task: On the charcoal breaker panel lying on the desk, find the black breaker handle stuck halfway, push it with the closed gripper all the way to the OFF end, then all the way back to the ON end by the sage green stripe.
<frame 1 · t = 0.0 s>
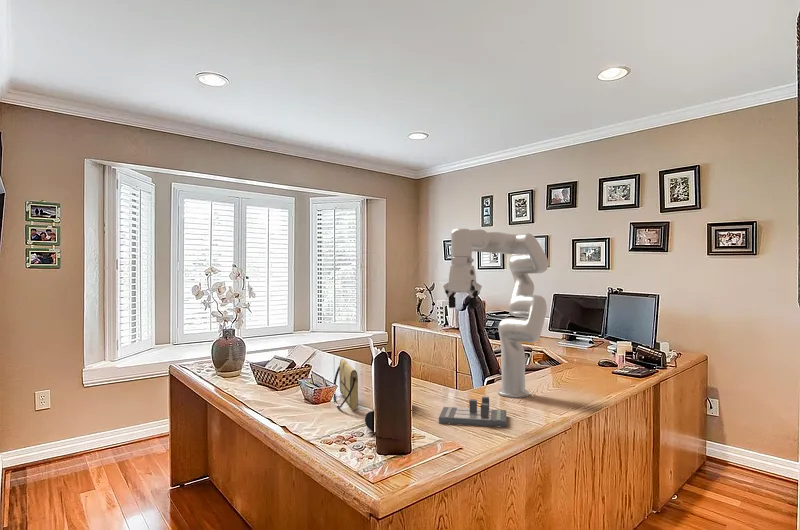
hand: (462, 308, 173), 37 cm above the table, tool pointing down, fingers open, 9 cm apart
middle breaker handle: (473, 406, 159), point 5 cm above the table, slide at 0.0 cm
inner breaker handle: (485, 403, 163), point 5 cm above the table, slide at 4.0 cm
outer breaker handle: (484, 410, 154), point 5 cm above the table, slide at 4.0 cm
breaker panel: (473, 419, 159), on the table
end cap: (382, 429, 150), on the table
clutch purse: (343, 403, 183), on the table
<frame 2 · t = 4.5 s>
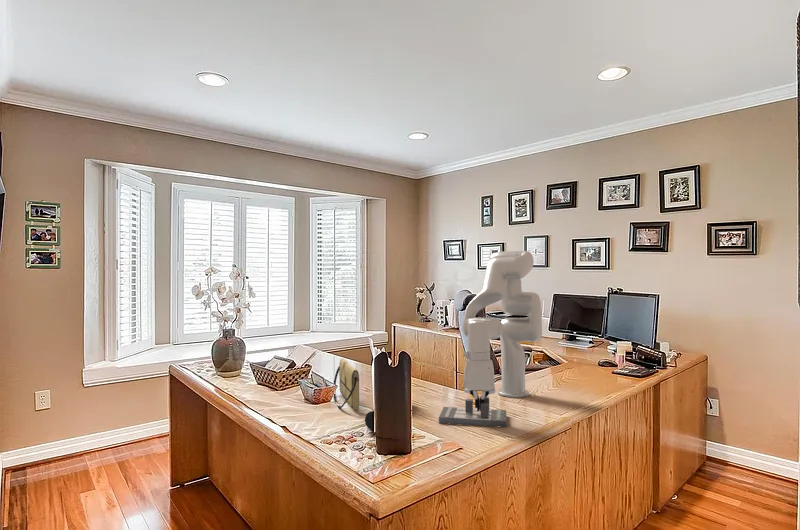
hand: (479, 410, 159), 3 cm above the table, tool pointing down, fingers closed
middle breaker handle: (469, 405, 160), point 5 cm above the table, slide at -1.4 cm, touching gripper
everything else where it was.
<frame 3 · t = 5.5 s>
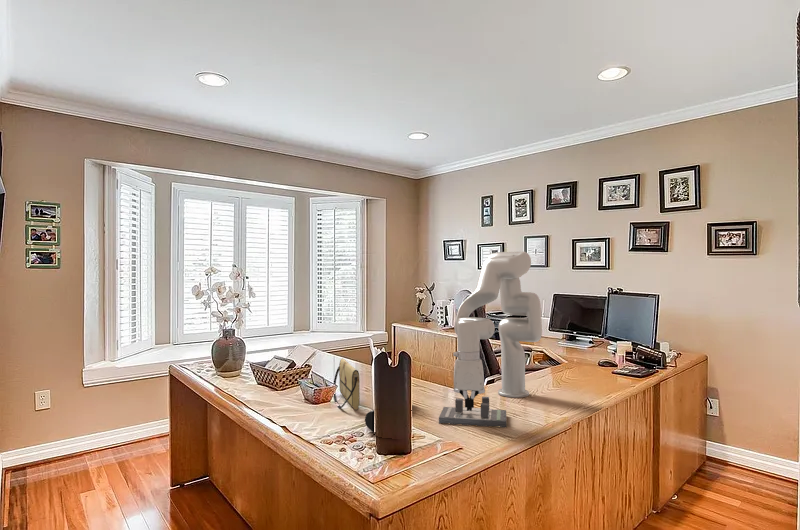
hand: (469, 409, 160), 3 cm above the table, tool pointing down, fingers closed
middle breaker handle: (459, 405, 160), point 5 cm above the table, slide at -4.8 cm, touching gripper
everything else where it was.
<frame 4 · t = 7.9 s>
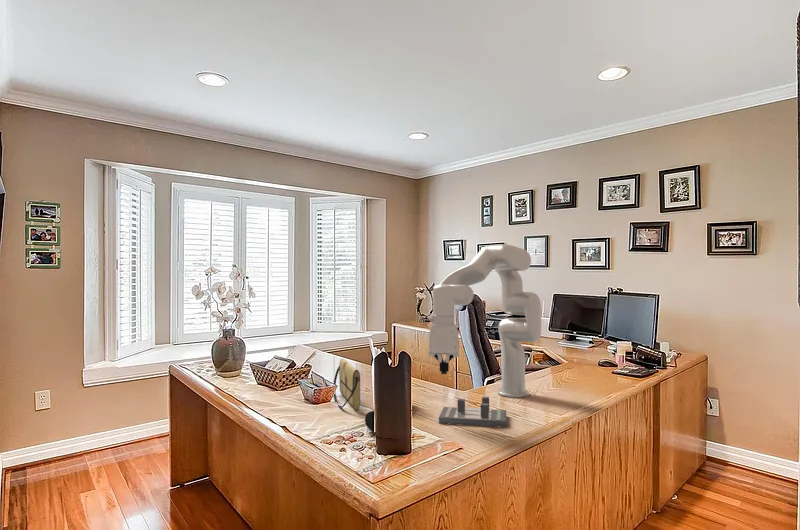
hand: (444, 373, 162), 15 cm above the table, tool pointing down, fingers closed
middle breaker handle: (461, 405, 160), point 5 cm above the table, slide at -4.1 cm
everything else where it was.
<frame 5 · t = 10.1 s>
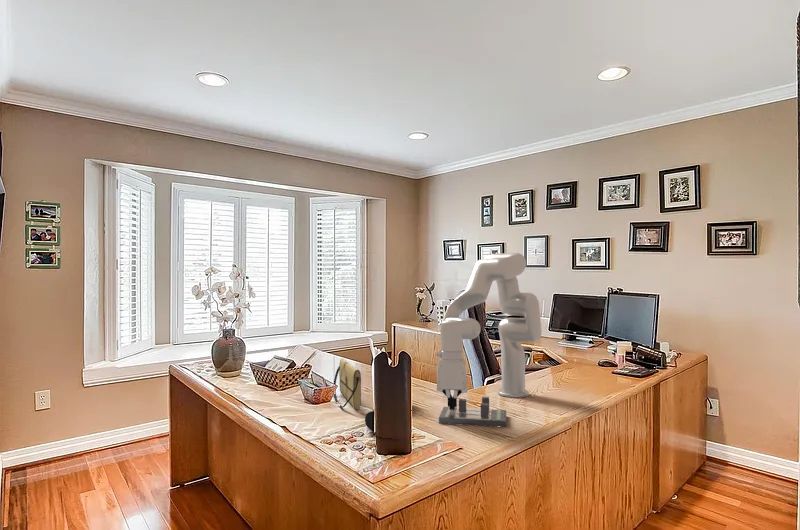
hand: (452, 408, 161), 3 cm above the table, tool pointing down, fingers closed
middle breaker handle: (462, 405, 160), point 5 cm above the table, slide at -3.6 cm, touching gripper
everything else where it was.
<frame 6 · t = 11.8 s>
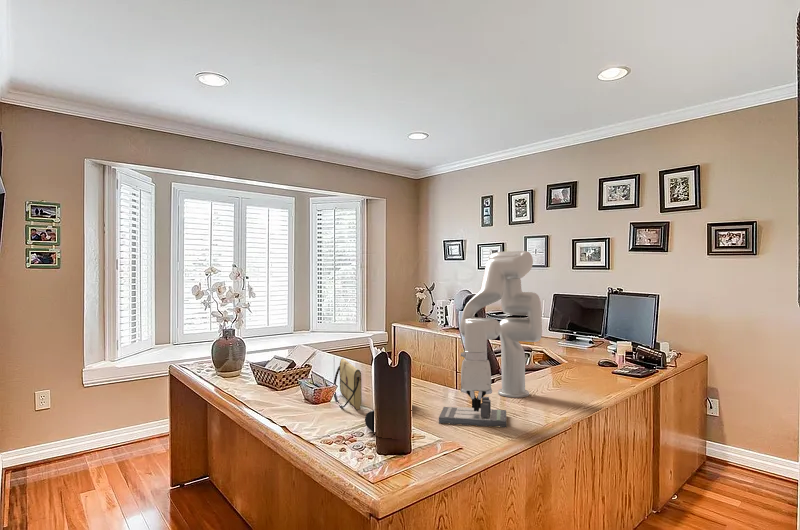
hand: (476, 410, 159), 3 cm above the table, tool pointing down, fingers closed
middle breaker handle: (486, 406, 158), point 5 cm above the table, slide at 4.6 cm, touching gripper
everything else where it was.
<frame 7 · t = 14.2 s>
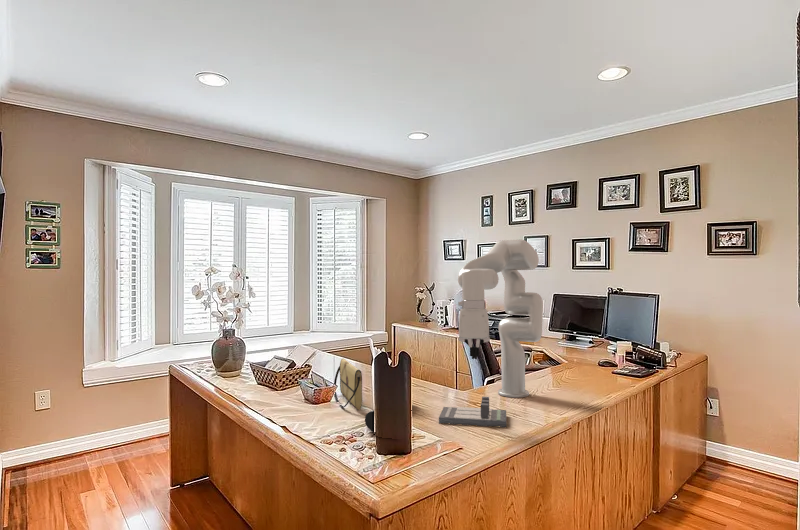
hand: (474, 358, 160), 21 cm above the table, tool pointing down, fingers closed
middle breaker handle: (485, 406, 158), point 5 cm above the table, slide at 4.1 cm
everything else where it was.
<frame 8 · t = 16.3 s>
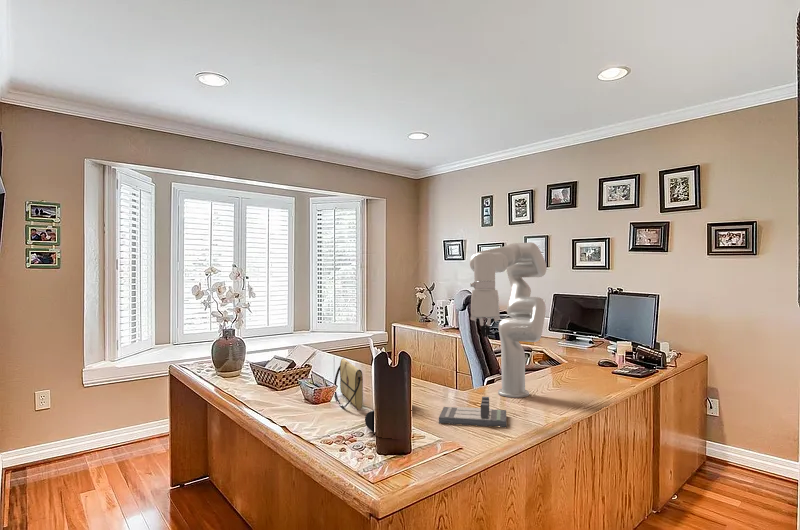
hand: (485, 336, 169), 27 cm above the table, tool pointing down, fingers closed
at the end: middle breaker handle slide at 4.1 cm; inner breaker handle slide at 4.0 cm; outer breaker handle slide at 4.0 cm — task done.
